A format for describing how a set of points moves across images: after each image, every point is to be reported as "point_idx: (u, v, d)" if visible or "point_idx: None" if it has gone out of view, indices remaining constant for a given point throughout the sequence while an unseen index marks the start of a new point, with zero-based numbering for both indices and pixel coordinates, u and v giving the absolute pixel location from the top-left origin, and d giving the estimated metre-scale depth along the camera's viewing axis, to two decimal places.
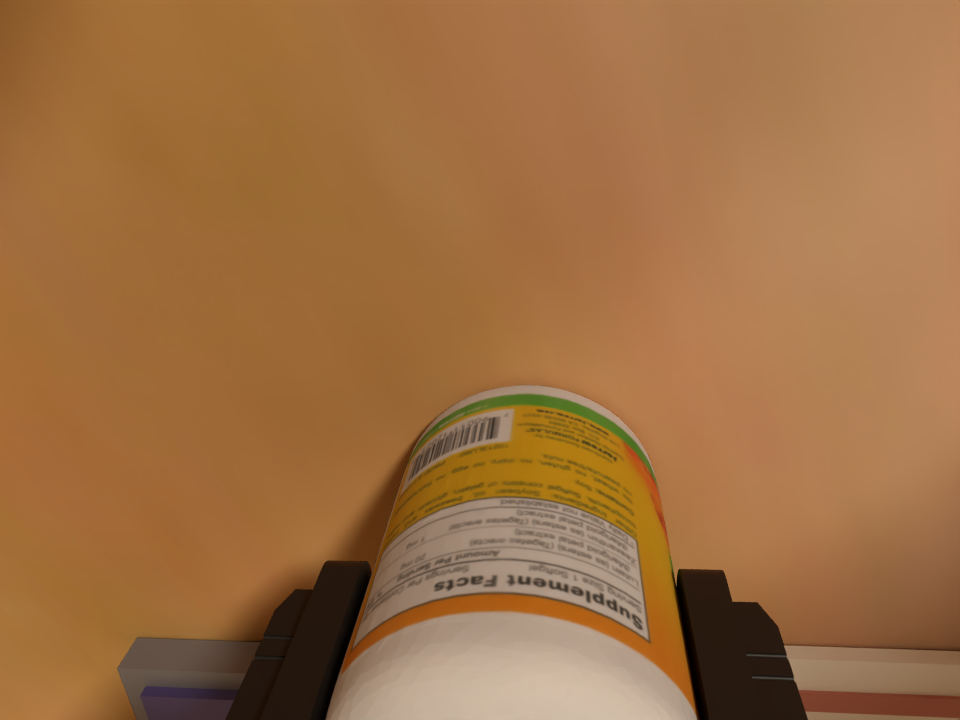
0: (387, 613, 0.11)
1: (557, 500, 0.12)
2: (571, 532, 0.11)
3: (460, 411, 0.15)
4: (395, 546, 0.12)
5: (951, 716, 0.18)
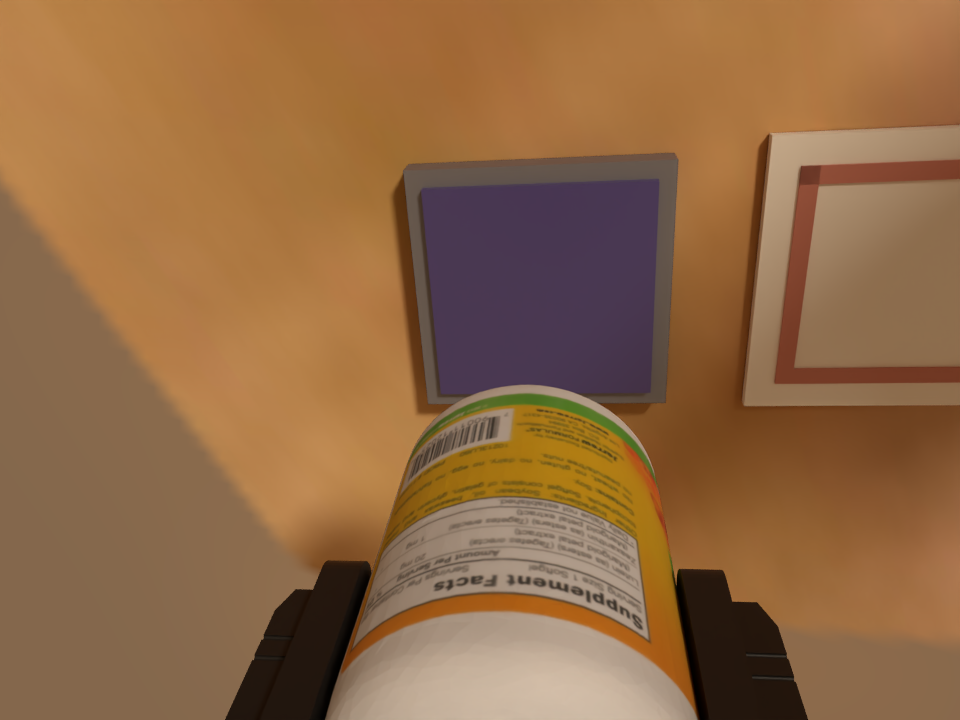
0: (387, 613, 0.11)
1: (558, 500, 0.12)
2: (571, 531, 0.11)
3: (460, 411, 0.15)
4: (395, 545, 0.12)
5: None
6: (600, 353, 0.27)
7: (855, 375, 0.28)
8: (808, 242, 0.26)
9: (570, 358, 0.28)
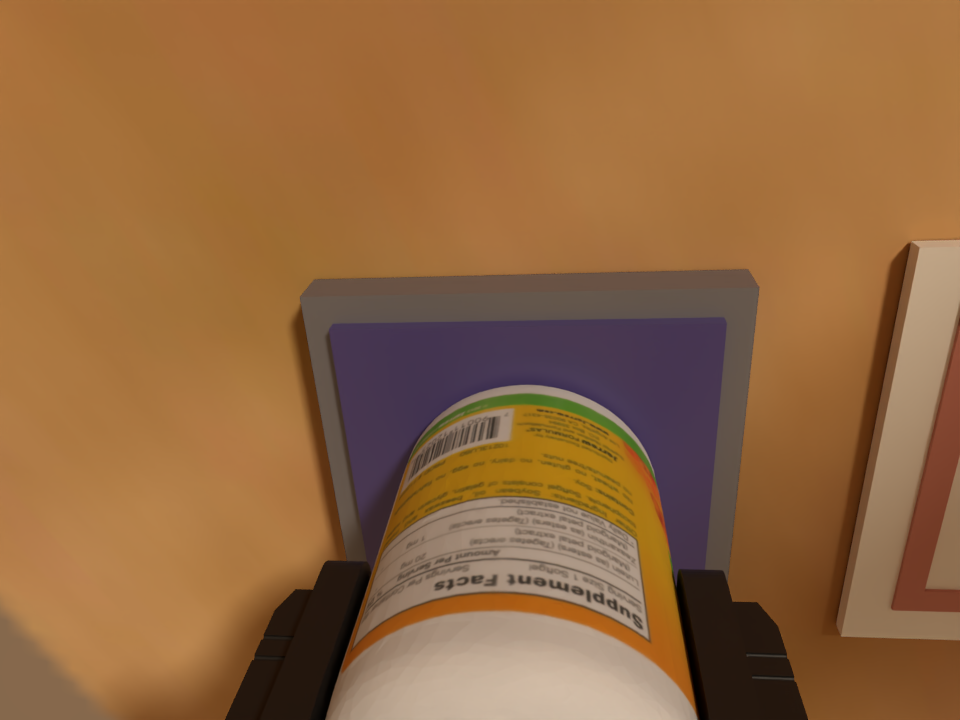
0: (387, 613, 0.11)
1: (558, 499, 0.12)
2: (571, 530, 0.11)
3: (460, 411, 0.15)
4: (395, 545, 0.12)
5: None
6: None
7: None
8: None
9: None
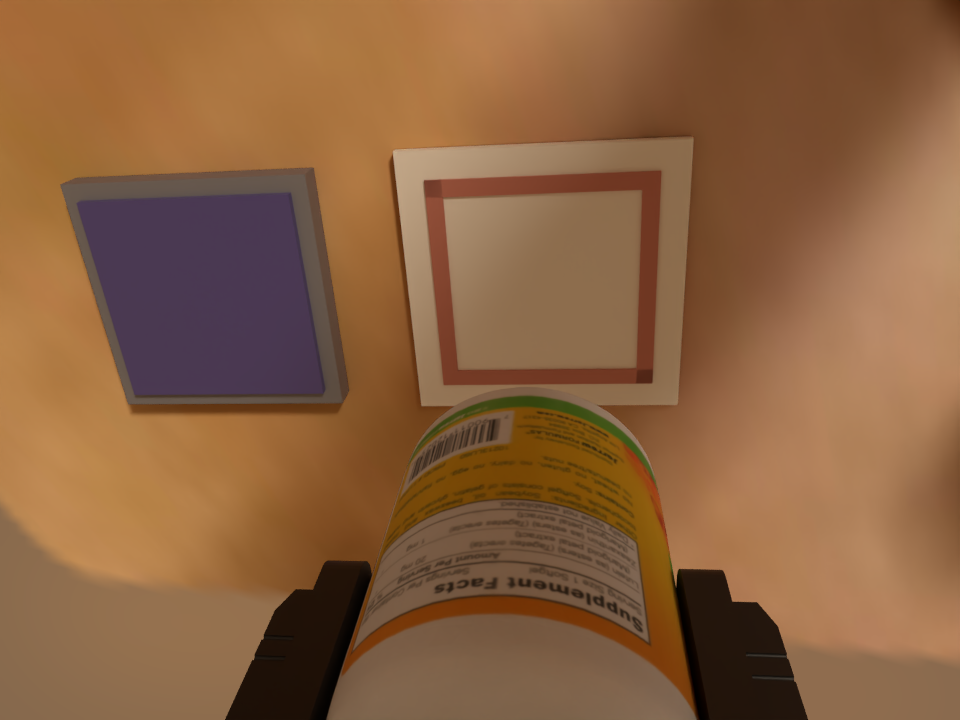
0: (387, 615, 0.11)
1: (558, 502, 0.12)
2: (571, 533, 0.11)
3: (460, 413, 0.15)
4: (396, 548, 0.12)
5: (634, 188, 0.26)
6: (270, 356, 0.29)
7: (514, 376, 0.29)
8: (446, 252, 0.27)
9: (244, 361, 0.29)
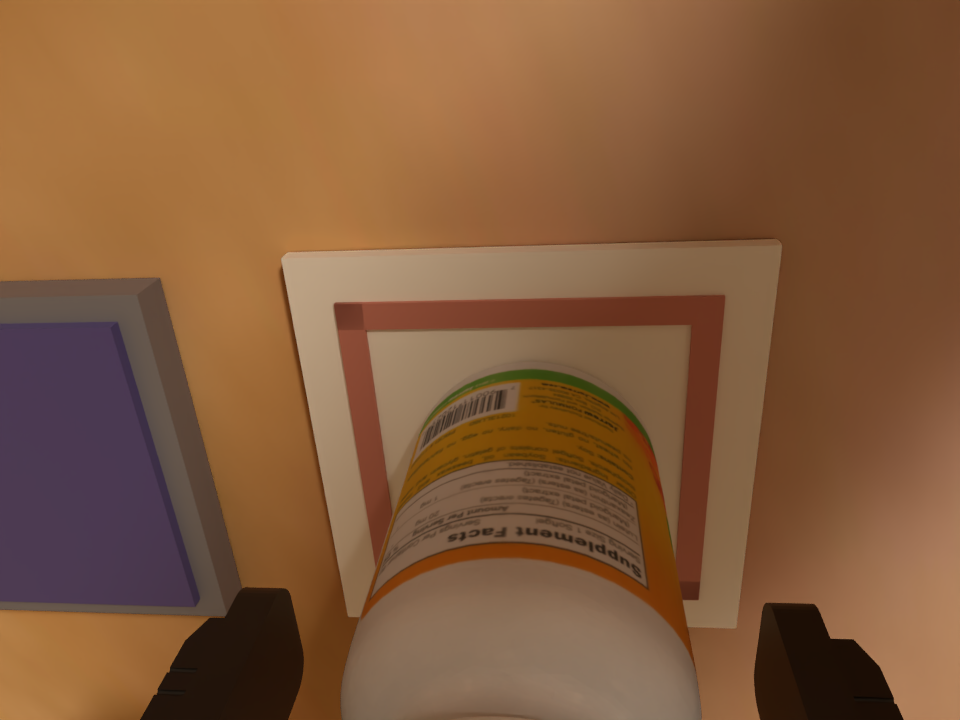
0: (404, 563, 0.11)
1: (562, 462, 0.13)
2: (575, 491, 0.12)
3: (469, 385, 0.16)
4: (409, 506, 0.13)
5: (678, 323, 0.15)
6: (110, 555, 0.19)
7: None
8: (375, 409, 0.17)
9: (71, 560, 0.19)
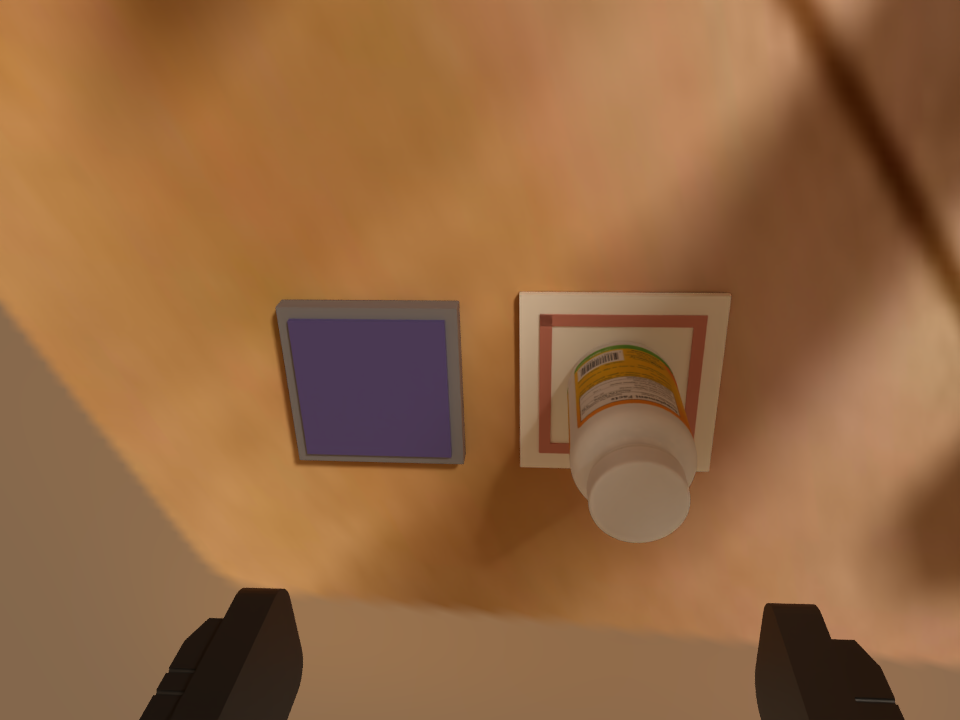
0: (594, 408, 0.32)
1: (646, 378, 0.34)
2: (652, 386, 0.33)
3: (598, 351, 0.37)
4: (587, 393, 0.34)
5: (688, 326, 0.37)
6: (415, 430, 0.40)
7: None
8: (550, 361, 0.38)
9: (395, 433, 0.40)
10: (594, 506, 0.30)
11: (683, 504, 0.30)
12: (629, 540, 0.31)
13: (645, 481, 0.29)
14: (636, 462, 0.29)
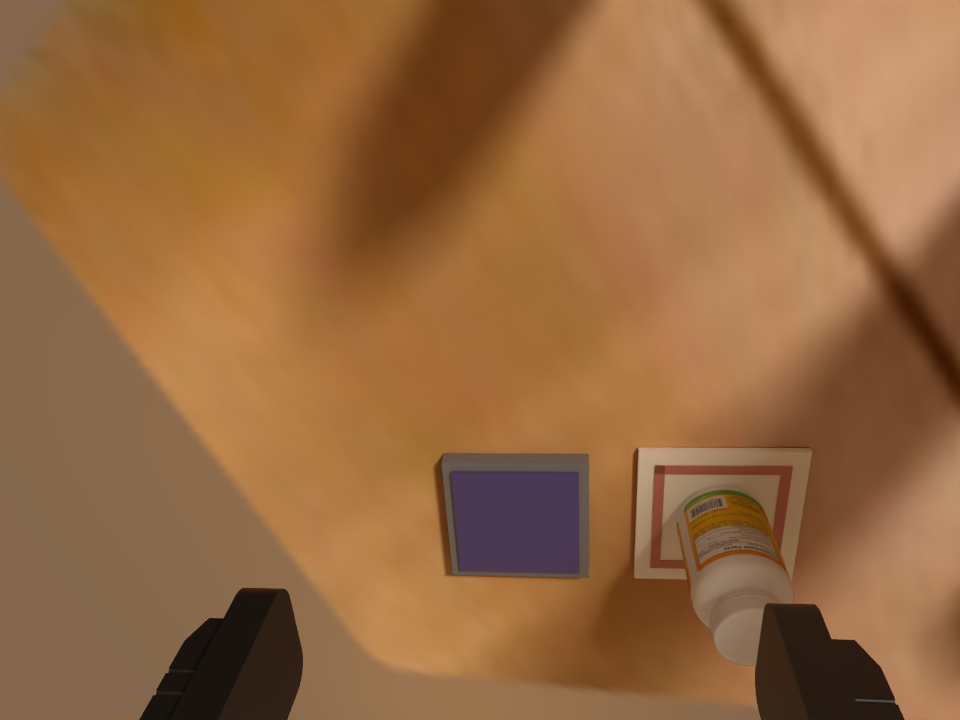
0: (711, 555, 0.41)
1: (748, 525, 0.43)
2: (755, 534, 0.42)
3: (704, 495, 0.46)
4: (701, 538, 0.43)
5: (776, 474, 0.45)
6: (550, 553, 0.49)
7: None
8: (662, 500, 0.47)
9: (533, 555, 0.49)
10: (718, 640, 0.39)
11: None
12: (744, 664, 0.40)
13: (758, 623, 0.38)
14: (753, 610, 0.38)
